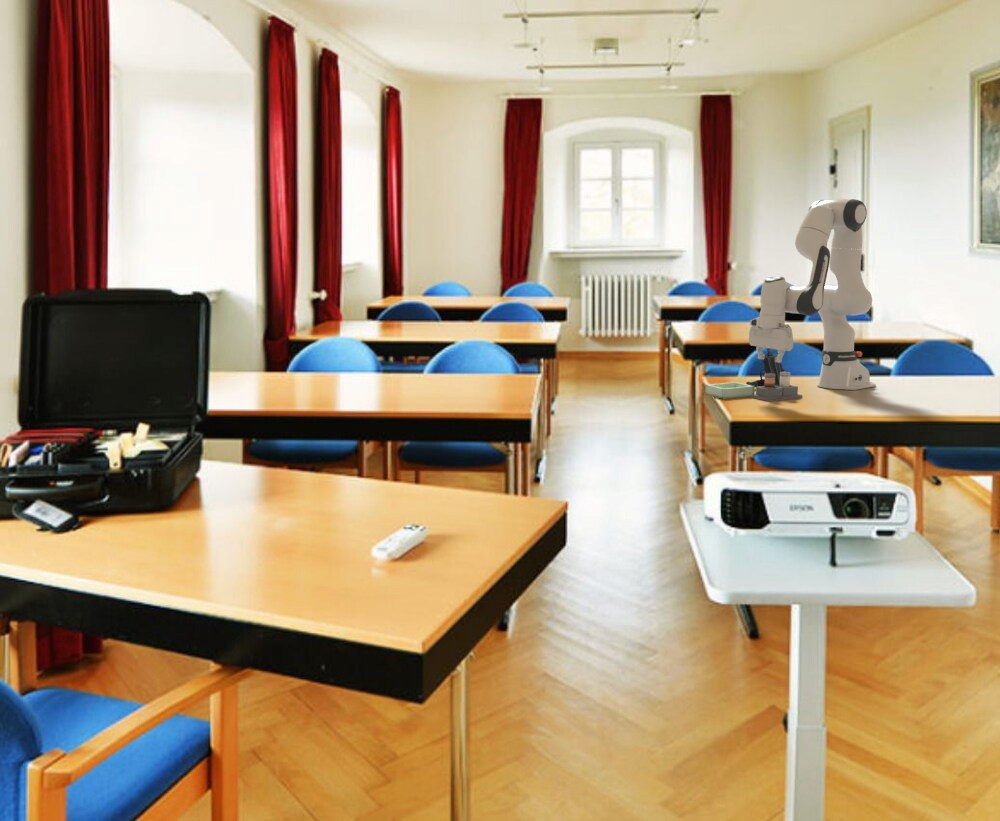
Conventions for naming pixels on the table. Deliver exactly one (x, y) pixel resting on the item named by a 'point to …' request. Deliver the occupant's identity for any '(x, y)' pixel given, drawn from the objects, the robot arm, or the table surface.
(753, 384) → the gun
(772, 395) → the block
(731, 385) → the tray
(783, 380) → the ball
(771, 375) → the fuse
